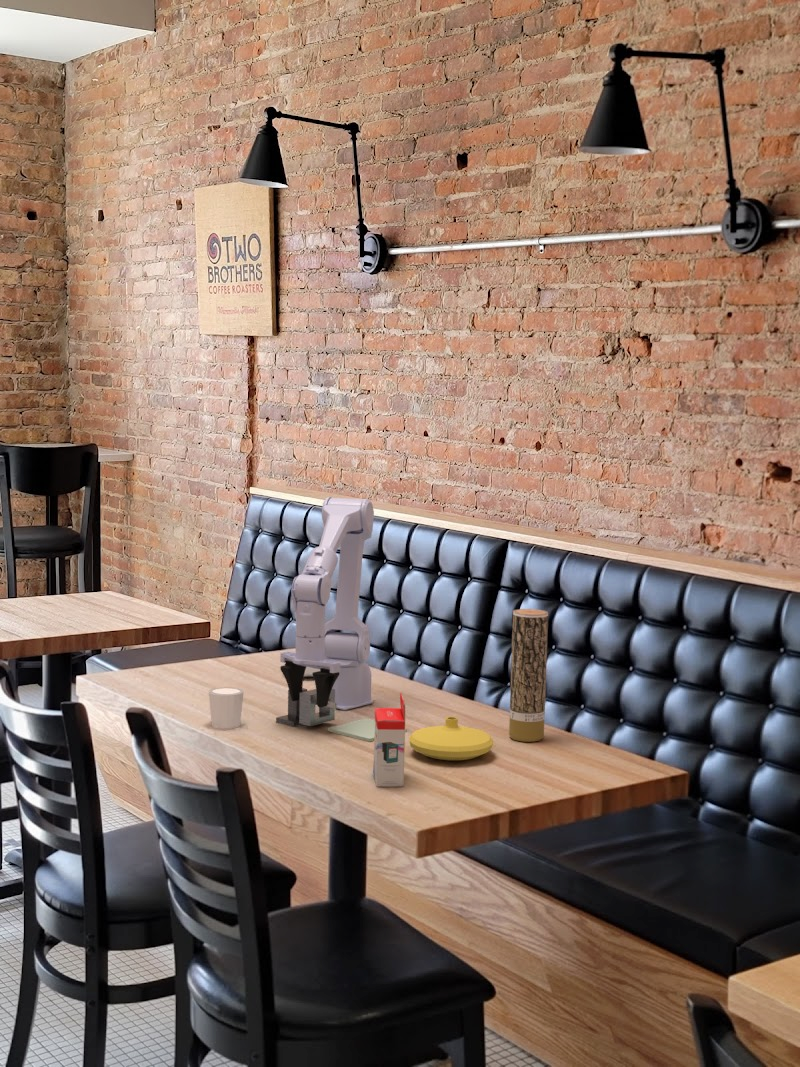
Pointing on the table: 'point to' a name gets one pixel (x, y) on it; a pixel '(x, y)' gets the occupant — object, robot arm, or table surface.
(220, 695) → the white cup
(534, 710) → the paper tube
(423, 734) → the vase
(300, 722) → the grey hollow frame block
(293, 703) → the post
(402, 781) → the ink box
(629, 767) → the table surface
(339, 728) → the coaster
